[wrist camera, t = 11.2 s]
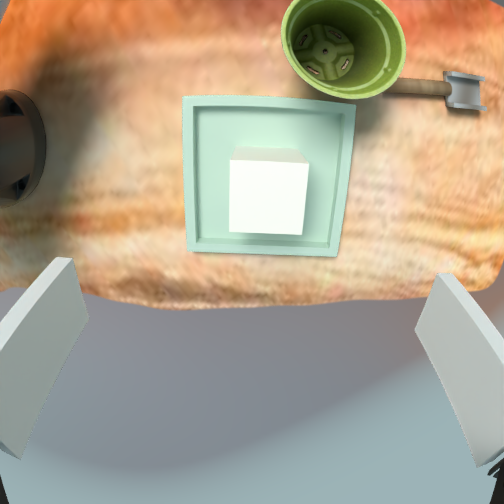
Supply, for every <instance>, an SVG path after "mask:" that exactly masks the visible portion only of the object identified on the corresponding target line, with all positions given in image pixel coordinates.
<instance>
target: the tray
mask: <svg viewBox="0 0 504 504" xmlns="http://www.w3.org/2000/svg"><path fill="white" fill-rule="evenodd" d="M355 116H356V105H353V104H346V103H338V102H330V101H321V100H312V99H301V98H288V97H272V96H248V95H200V96H182V139H183V179H184V203H185V222H186V239H187V251H194V252H221V253H248V254H275V255H302V256H330V257H337V253H338V247H339V241H340V235H341V229H342V223H343V216H344V210H345V203H346V196H347V188H348V181H349V173H350V165H351V156H352V147H353V137H354V127H355ZM236 146H255V147H276V148H293V149H298V150H299V151H300V152H301V154H302V155H303V156H304V158H305V159H306V160H307V162H308V163H309V170H308V181H307V191H306V201H305V211H304V220H303V230H302V235H292V234H269V233H244V232H229V188H230V159H231V156H232V154H233V152H234V149H235V147H236Z"/></svg>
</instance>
